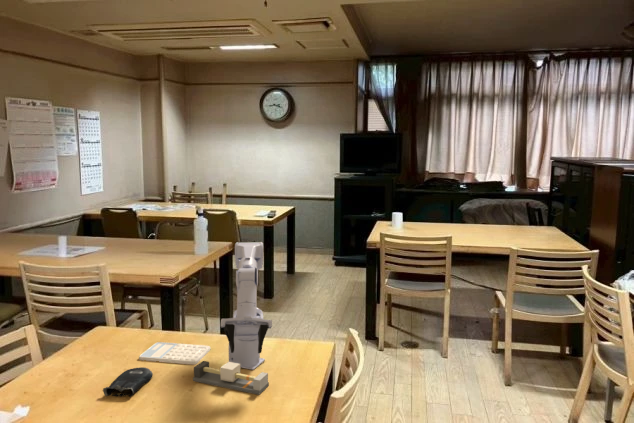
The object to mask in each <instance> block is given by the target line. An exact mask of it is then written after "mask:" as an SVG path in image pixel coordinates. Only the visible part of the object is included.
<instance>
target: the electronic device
mask: <svg viewBox="0 0 634 423" xmlns="http://www.w3.org/2000/svg"><path fill="white" fill-rule="evenodd" d="M153 375H154V374H153V372H152V370H151V369H149V368H148V367H145V366H143V367H141V366H140V367H134V368H133V367H132V368H130V369H126V370H124V371H123V372H121V373H120V374H119V375H118V376H117V377H116V378H115V379H114V380H113V381H112V382H111V383H110V384H109V386H105V387H104V388H103V389H102V392H103V394H104V396H105V397H107V396H112V397H113V396H114V397H132V396H133V395H134V394H136V392H138V390H139V389H140V388H142V387H143V386H144V385H145V384H147V383H148V382H149V381H150V380H152V378H153ZM115 390H117V391H119V392H120V393H114V394H113V392H114V391H115ZM125 390H131V393H130V394H129V393H125Z"/></svg>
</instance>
